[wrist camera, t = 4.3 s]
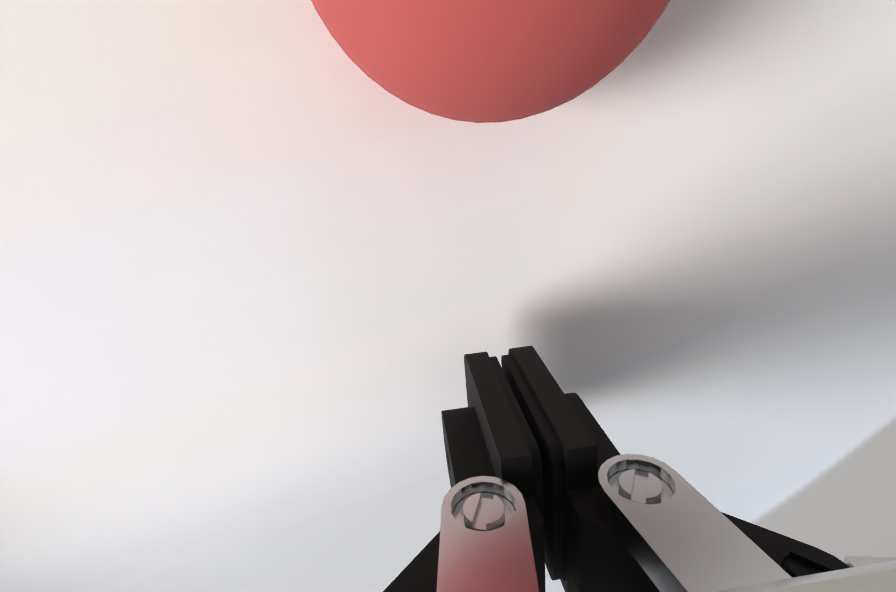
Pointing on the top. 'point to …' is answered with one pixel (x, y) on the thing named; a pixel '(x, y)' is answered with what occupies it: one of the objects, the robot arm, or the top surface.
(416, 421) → the top surface
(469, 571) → the robot arm
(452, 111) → the ball
